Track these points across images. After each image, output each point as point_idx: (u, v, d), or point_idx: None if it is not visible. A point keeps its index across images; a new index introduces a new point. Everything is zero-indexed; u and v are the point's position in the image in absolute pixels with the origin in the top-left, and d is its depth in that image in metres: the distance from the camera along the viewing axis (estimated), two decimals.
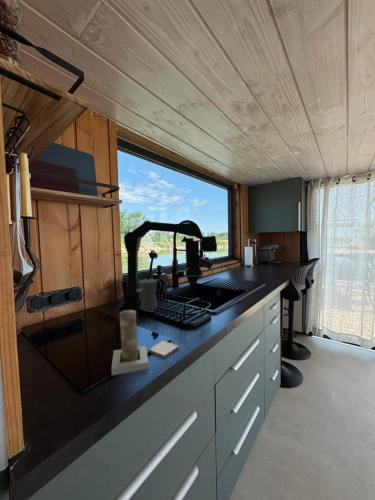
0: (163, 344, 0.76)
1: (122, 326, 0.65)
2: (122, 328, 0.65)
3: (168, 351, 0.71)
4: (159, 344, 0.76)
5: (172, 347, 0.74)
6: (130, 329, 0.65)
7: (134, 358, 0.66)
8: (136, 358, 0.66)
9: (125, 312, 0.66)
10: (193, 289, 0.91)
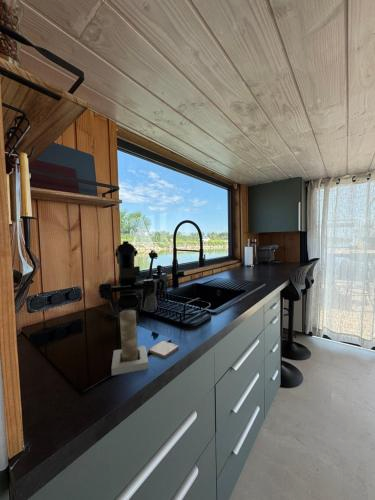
0: (163, 344, 0.76)
1: (122, 326, 0.64)
2: (122, 328, 0.65)
3: (168, 351, 0.71)
4: (159, 344, 0.76)
5: (172, 347, 0.74)
6: (130, 329, 0.65)
7: (134, 358, 0.66)
8: (136, 358, 0.66)
9: (125, 312, 0.66)
10: (113, 310, 0.73)
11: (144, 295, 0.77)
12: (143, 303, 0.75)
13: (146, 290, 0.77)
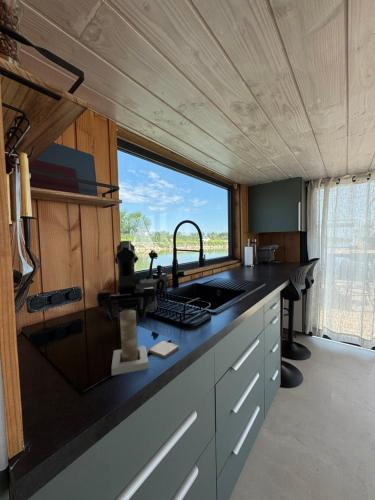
0: (163, 344, 0.76)
1: (122, 326, 0.65)
2: (122, 328, 0.65)
3: (168, 351, 0.71)
4: (159, 344, 0.76)
5: (172, 347, 0.74)
6: (130, 329, 0.65)
7: (134, 358, 0.66)
8: (136, 358, 0.66)
9: (125, 312, 0.66)
10: None
11: (144, 304, 0.73)
12: (143, 313, 0.72)
13: (146, 299, 0.74)
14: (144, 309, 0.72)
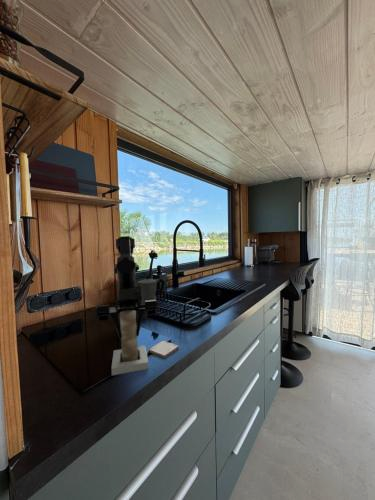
0: (163, 344, 0.76)
1: (122, 326, 0.64)
2: (122, 328, 0.65)
3: (168, 351, 0.71)
4: (159, 344, 0.76)
5: (172, 347, 0.74)
6: (130, 329, 0.65)
7: (134, 358, 0.66)
8: (136, 358, 0.66)
9: (125, 312, 0.66)
10: (118, 335, 0.65)
11: (139, 319, 0.68)
12: (138, 329, 0.66)
13: (141, 313, 0.69)
14: (139, 325, 0.67)
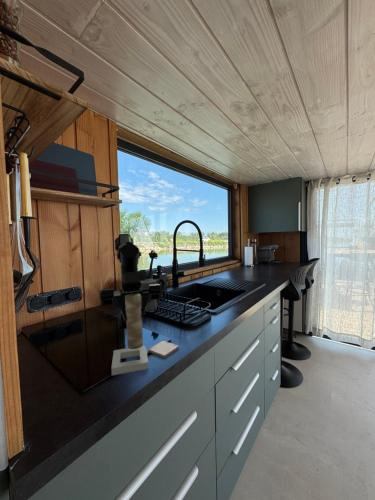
0: (163, 344, 0.76)
1: (128, 309, 0.65)
2: (128, 311, 0.65)
3: (168, 351, 0.71)
4: (159, 344, 0.76)
5: (172, 347, 0.74)
6: (136, 311, 0.65)
7: (139, 340, 0.66)
8: (141, 341, 0.67)
9: (130, 295, 0.66)
10: (124, 318, 0.66)
11: (144, 302, 0.68)
12: (143, 312, 0.67)
13: (146, 297, 0.69)
14: (144, 308, 0.68)
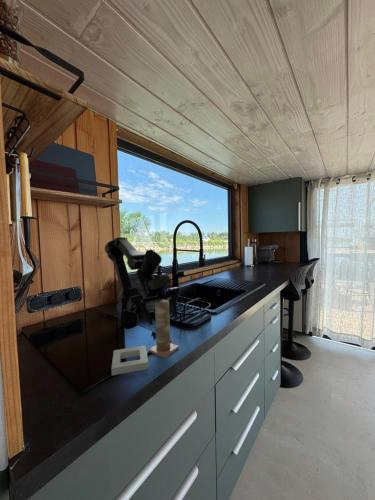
0: None
1: (160, 314, 0.71)
2: (160, 316, 0.71)
3: (168, 351, 0.71)
4: None
5: (172, 347, 0.74)
6: (167, 316, 0.72)
7: (169, 342, 0.73)
8: None
9: (159, 302, 0.72)
10: (149, 322, 0.70)
11: (174, 303, 0.77)
12: (175, 311, 0.75)
13: (175, 298, 0.77)
14: (175, 308, 0.76)
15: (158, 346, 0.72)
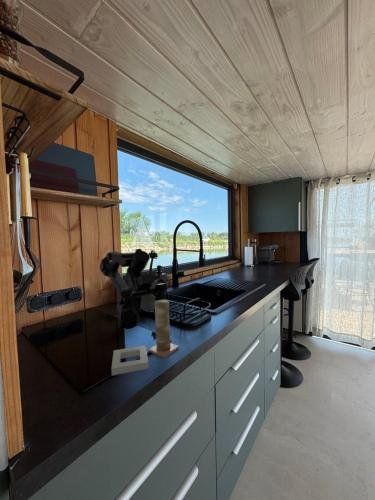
0: None
1: (160, 314, 0.71)
2: (160, 316, 0.71)
3: (168, 351, 0.71)
4: None
5: (172, 347, 0.74)
6: (167, 316, 0.72)
7: (169, 342, 0.73)
8: None
9: (159, 302, 0.72)
10: (137, 314, 0.77)
11: (161, 298, 0.84)
12: None
13: (162, 293, 0.85)
14: None
15: (158, 346, 0.72)
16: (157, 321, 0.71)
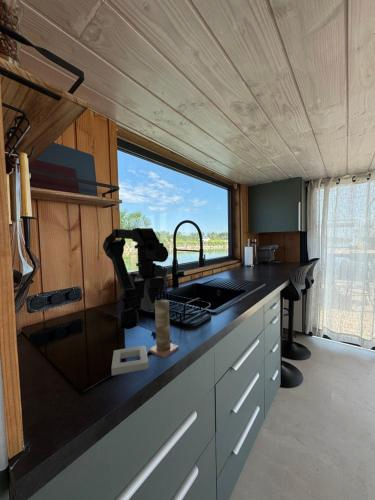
0: None
1: (160, 314, 0.71)
2: (160, 316, 0.71)
3: (168, 351, 0.71)
4: None
5: (172, 347, 0.74)
6: (167, 316, 0.72)
7: (169, 342, 0.73)
8: None
9: (159, 302, 0.72)
10: (153, 301, 0.82)
11: None
12: None
13: None
14: None
15: (158, 346, 0.72)
16: (157, 321, 0.71)
